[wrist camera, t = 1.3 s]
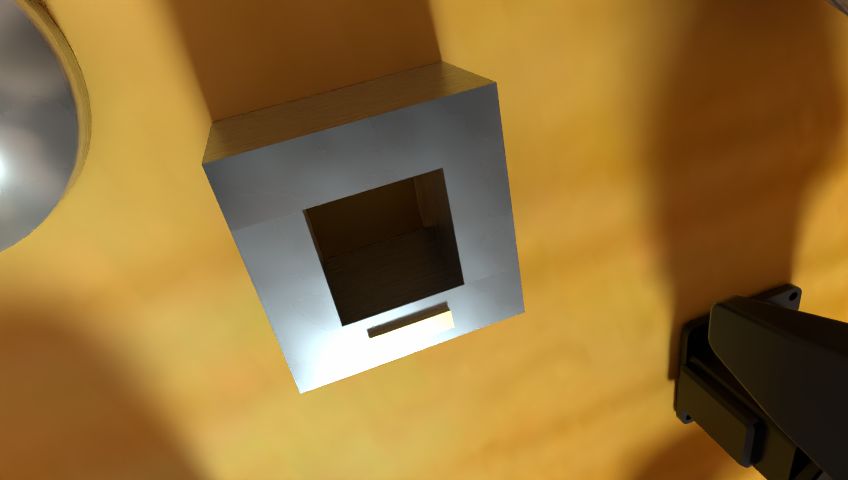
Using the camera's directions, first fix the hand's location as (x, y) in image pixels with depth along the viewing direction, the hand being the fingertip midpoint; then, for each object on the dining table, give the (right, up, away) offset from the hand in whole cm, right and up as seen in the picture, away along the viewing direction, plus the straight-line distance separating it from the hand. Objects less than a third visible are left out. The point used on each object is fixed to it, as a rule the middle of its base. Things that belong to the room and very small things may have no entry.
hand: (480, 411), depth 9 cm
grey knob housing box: (-3, +4, +8) cm, 10 cm away
